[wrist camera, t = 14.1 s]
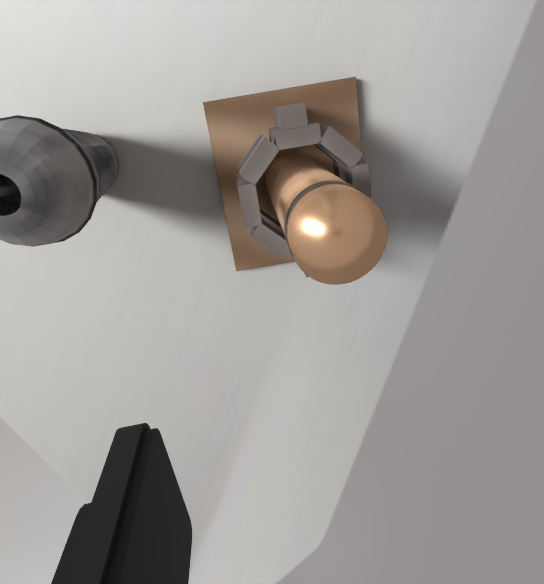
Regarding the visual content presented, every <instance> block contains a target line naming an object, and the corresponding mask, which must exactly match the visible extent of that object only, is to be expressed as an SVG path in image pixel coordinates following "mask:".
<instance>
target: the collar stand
mask: <svg viewBox="0 0 544 584" xmlns="http://www.w3.org/2000/svg"><path fill="white" fill-rule="evenodd" d="M203 105H204V110H205V115H206V120H207V125H208V130H209V135H210V140H211V145H212V150H213V155H214V160H215V165H216V170H217V175H218V181H219V186H220V191H221V196H222V201H223V206H224V211H225V216H226V221H227V226H228V231H229V236H230V241H231V246H232V251H233V256H234V261H235V266H236V271H241V270H247V269H253V268H258V267H264V266H270V265H275V264H281V263H287V262H293V261H294V262H295V259H294V256H293V255H292V253H291V251H290V249H289V246H288V244H287V241H286V238H285V234H284V231H283V229H282V226H281V224H280V221H279V219H278V216H277V214H276V211H275V209H274V207H273V204H272V202H271V199H270V197H269V194H268V192H267V189H266V184H265V178H266V173H267V170H268V168H269V166H270V164H271V163H272V162H273V161H274V160H275V159H276V158H277V157H279V156H281V155H283V154H285V153H291V152H295V153H300V154H303V155H305V156H307V157H308V158H310V159H311V160H313V161H314V162H316V163H317V164H319V165H320V166H322V167H323V168H325V169H326V170H328V171H329V172H331V173H332V174H334V175H336V176H337V177H339V178H340V179H342V180H343V181H345V182H346V183H348V184H350V185H352V186H354V187H356V188H357V189H359V190H360V191H362V192H363V193H364V194H365V195H366V196H367V197H369V198H370V199H371V188H370V173H369V163H366V162H364V161H362V156H363V154H364V153H362V152H361V140H360V126H359V113H358V100H357V87H356V77H352V78H346V79H340V80H334V81H328V82H322V83H316V84H310V85H304V86H298V87H292V88H286V89H280V90H274V91H268V92H262V93H257V94H251V95H245V96H239V97H233V98H227V99H221V100H215V101H209V102H203ZM305 275H306V277H309V276H308V275H307V274H305Z"/></svg>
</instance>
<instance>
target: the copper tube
mask: <svg viewBox="0 0 544 584" xmlns="http://www.w3.org/2000/svg"><path fill="white" fill-rule="evenodd" d="M265 184H266V189H267V192H268V194H269V197H270V199H271V202H272V204H273V207H274V209H275V211H276V214H277V216H278V219H279V221H280V224H281V226H282V229H283V231H284V234H285V238H286V241H287V244H288V246H289V249H290V251H291V253H292V255H293V256H294V259H295V261H296V263H297V264H298V266H299V267H300V268H301V270H302V271H303V272H304V273H305V274H307V275H308V276H309V277H311V278H312V279H314V280H316V281H319V282H322V283H326V284H345V283H349V282H352V281H355V280H357V279H359V278H361V277H362V276H364V275H365V274H367V273H368V272H369V271H370V270H371V269H372V268H373V267H374V266H375V265H376V264H377V262H378V261H379V260H380V258H381V256H382V254H383V252H384V249H385V246H386V241H387V225H386V221H385V218H384V215H383V213H382V211H381V210H380V208H379V207H378V206H377V204H376V203H375V202H374V201H373V200H371V199H370V198H369V197H367V196H366V195H365V194H364V193H363V192H362V191H360V190H359V189H357V188H356V187H354V186H352V185H350V184H348V183H346V182H345V181H343V180H342V179H340V178H339V177H337V176H336V175H334V174H332V173H331V172H329V171H328V170H326V169H325V168H323V167H322V166H320V165H319V164H317V163H316V162H314V161H313V160H311V159H310V158H308V157H307V156H305V155H303V154H300V153H295V152H291V153H285V154H283V155H281V156H279V157H277V158H276V159H275V160H274V161H273V162H272V163H271V164H270V166H269V168H268V170H267V173H266V178H265Z"/></svg>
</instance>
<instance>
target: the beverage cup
mask: <svg viewBox="0 0 544 584" xmlns="http://www.w3.org/2000/svg"><path fill="white" fill-rule="evenodd" d="M117 173H118V159H117V156H116V153H115V151H114V150H113V148H112V146H111V145H110V144H109V143H108V142H107V141H105V140H104V139H103V138H101V137H99V136H97V135H94V134H91V133H87V132H80V131H74V130H67V129H61V128H59V127H57V126H55V125H53V124H50V123H48V122H46V121H44V120H42V119H39V118H32V117H25V116H18V115H17V116H12V117H6V118H1V119H0V240H2V241H5V242H7V243H10V244H15V245H25V246H39V245H45V244H51V243H56V242H61V241H65V240H66V239H68V238H70V237H72V236H73V235H75V234H77V233H79V232H80V231H81V229H82V228H83V227H84V226H85V225H86V223H87V222H88V221H89V220H90V219H91V216H92V213H93V211H94V208H95V205H96V202H97V201H98V200H99V199H100V198H101V196H102V195H103V194H104V193H105V192H106V191H107V189H108V188H109V187H110V186H111V185H112V184H113V182H114V180H115V179H116V176H117Z"/></svg>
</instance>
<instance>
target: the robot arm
mask: <svg viewBox="0 0 544 584" xmlns="http://www.w3.org/2000/svg"><path fill="white" fill-rule="evenodd" d="M191 545H192V526H191V521H190V517H189V514H188V511H187V508H186V506H185V503H184V500H183V497H182V494H181V491H180V488H179V485H178V483H177V480H176V477H175V474H174V471H173V468H172V465H171V462H170V459H169V457H168V454H167V451H166V448H165V445H164V442H163V439H162V436H161V434H160V431H159V430H158V429H157V428H155V429H150V427H149V425H148V424H147V423H143V424H138V425H133V426H128V427H123V428H119V429H118V430H117V431H116V433H115V436H114V439H113V442H112V445H111V447H110V450H109V453H108V456H107V459H106V462H105V465H104V468H103V471H102V474H101V476H100V479H99V482H98V485H97V488H96V491H95V494H94V497H93V500H92V502H91V503H88V504H84V505H83V507H81V508H80V510H79V512H78V514H77V516H76V519H75V521H74V524H73V527H72V529H71V532H70V535H69V538H68V540H67V543H66V545H65V548H64V551H63V553H62V556H61V559H60V562H59V564H58V567H57V570H56V572H55V575H54V578H53V580H52V583H51V584H188V580H189V568H190V557H191Z"/></svg>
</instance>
